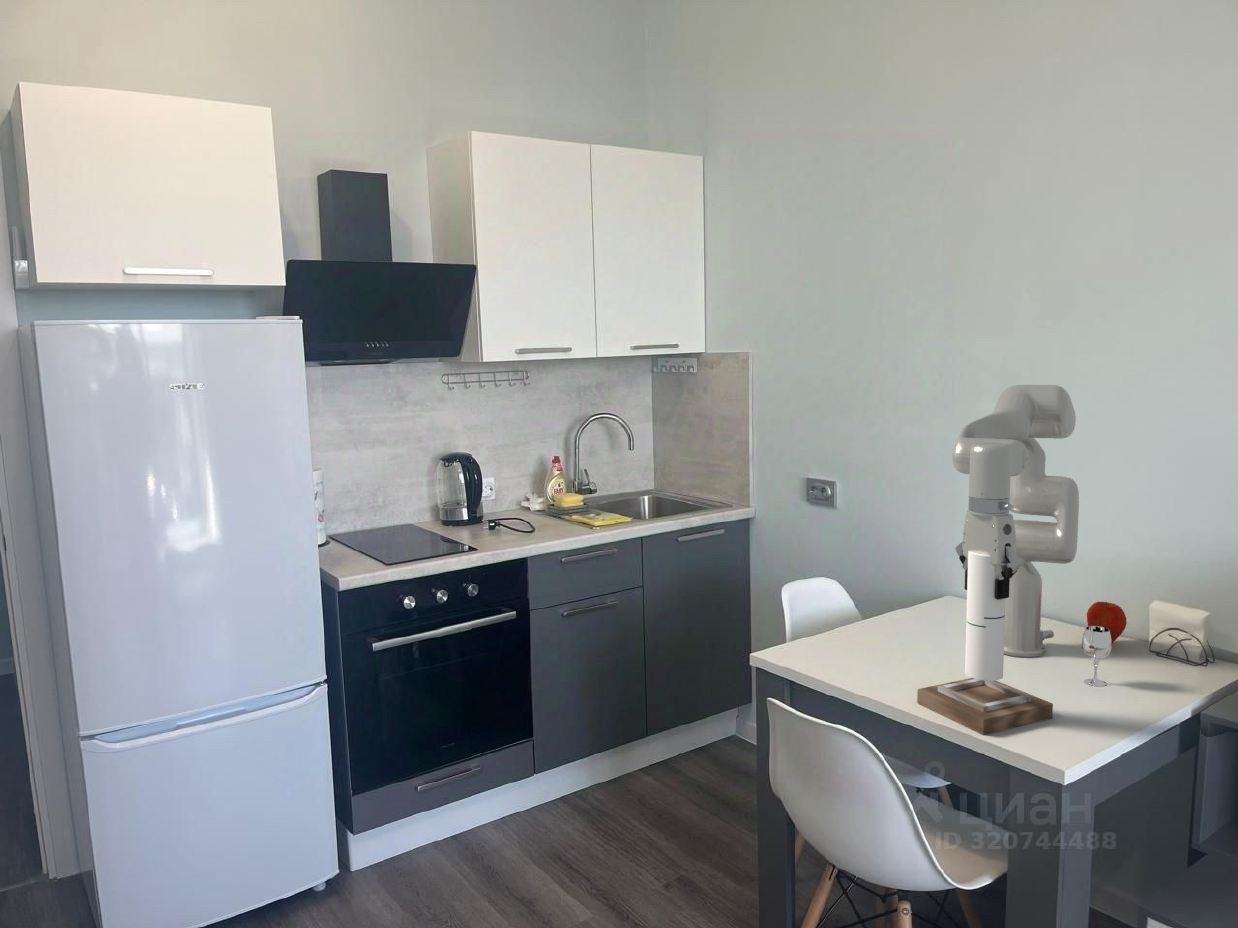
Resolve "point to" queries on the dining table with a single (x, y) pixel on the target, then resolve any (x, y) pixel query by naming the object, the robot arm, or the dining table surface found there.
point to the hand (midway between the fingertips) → (986, 593)
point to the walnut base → (984, 704)
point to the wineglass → (1096, 648)
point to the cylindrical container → (984, 621)
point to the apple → (1107, 618)
